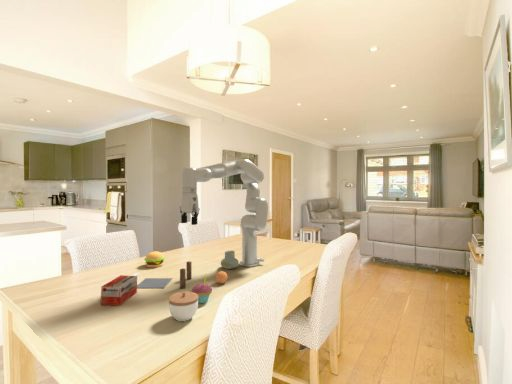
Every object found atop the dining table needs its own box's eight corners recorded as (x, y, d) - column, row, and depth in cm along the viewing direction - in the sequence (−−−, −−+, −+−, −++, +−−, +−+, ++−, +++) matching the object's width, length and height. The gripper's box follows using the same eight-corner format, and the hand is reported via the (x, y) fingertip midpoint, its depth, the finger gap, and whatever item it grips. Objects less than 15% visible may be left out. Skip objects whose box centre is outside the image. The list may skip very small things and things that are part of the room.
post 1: (186, 286, 132) (186, 268, 132) (184, 288, 130) (184, 270, 130) (180, 286, 132) (180, 268, 132) (179, 288, 130) (179, 270, 130)
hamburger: (168, 263, 174) (168, 250, 174) (159, 268, 163) (159, 254, 162) (150, 262, 176) (150, 249, 176) (140, 268, 164) (140, 253, 164)
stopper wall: (139, 277, 146) (139, 272, 146) (124, 289, 128) (124, 284, 128) (135, 277, 146) (135, 272, 146) (119, 289, 128) (119, 284, 128)
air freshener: (240, 267, 166) (240, 251, 166) (234, 271, 159) (234, 253, 159) (225, 265, 171) (225, 249, 171) (218, 268, 164) (218, 252, 163)
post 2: (191, 278, 145) (192, 261, 145) (190, 279, 143) (190, 262, 143) (187, 278, 145) (187, 261, 145) (185, 279, 143) (185, 262, 143)
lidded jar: (172, 311, 106) (172, 287, 106) (200, 310, 107) (200, 287, 106) (165, 325, 95) (165, 298, 95) (196, 324, 96) (196, 297, 96)
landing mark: (172, 278, 144) (172, 278, 144) (163, 288, 130) (163, 287, 130) (145, 278, 144) (145, 278, 144) (134, 288, 130) (134, 287, 130)
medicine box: (119, 306, 110) (119, 287, 110) (100, 306, 111) (100, 286, 111) (137, 292, 125) (137, 275, 125) (120, 292, 126) (120, 275, 126)
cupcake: (215, 298, 118) (215, 271, 118) (205, 306, 110) (205, 277, 110) (198, 296, 121) (198, 269, 121) (187, 303, 113) (187, 274, 113)
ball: (227, 281, 141) (228, 269, 141) (226, 285, 135) (227, 273, 135) (216, 281, 141) (216, 269, 141) (214, 285, 135) (214, 273, 135)
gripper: (204, 191, 139) (204, 224, 139) (186, 191, 151) (186, 221, 151) (192, 191, 134) (192, 226, 134) (174, 191, 146) (174, 222, 146)
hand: (189, 223), depth 143 cm, fingers open, 9 cm apart
